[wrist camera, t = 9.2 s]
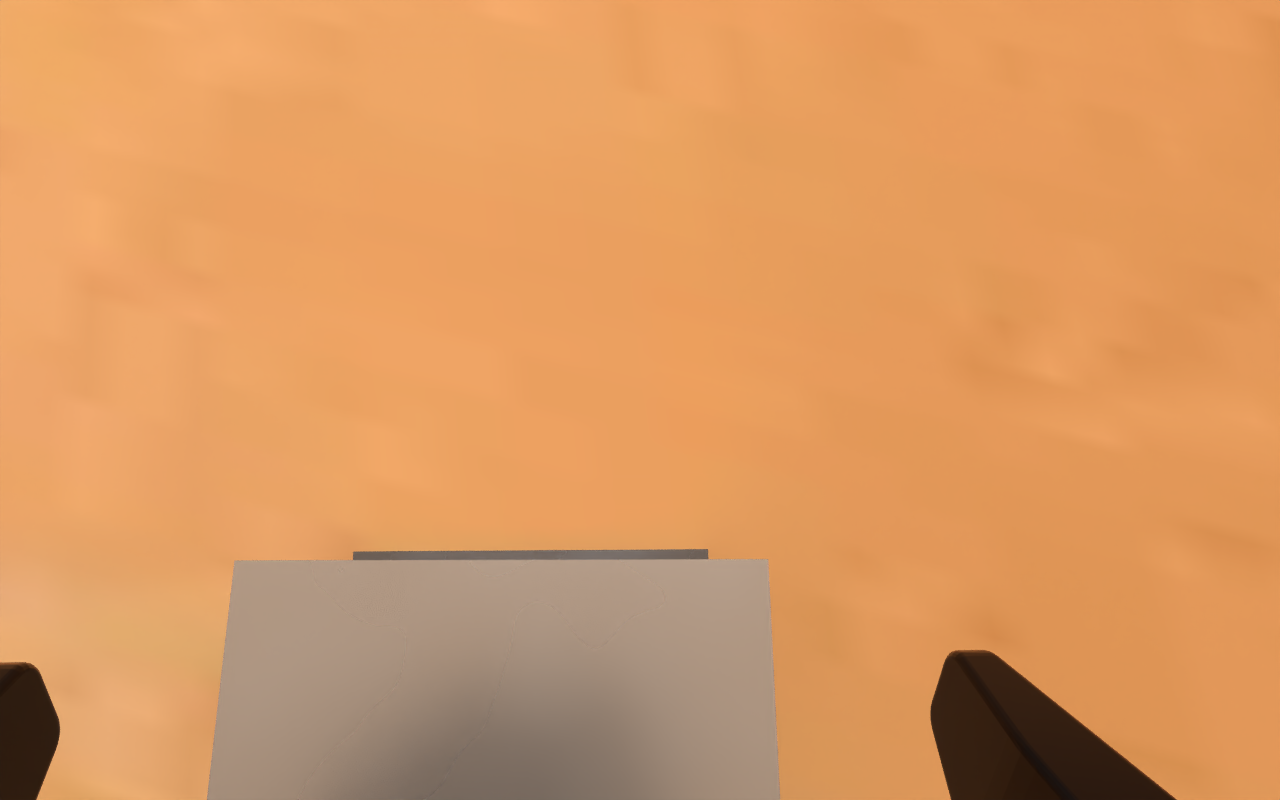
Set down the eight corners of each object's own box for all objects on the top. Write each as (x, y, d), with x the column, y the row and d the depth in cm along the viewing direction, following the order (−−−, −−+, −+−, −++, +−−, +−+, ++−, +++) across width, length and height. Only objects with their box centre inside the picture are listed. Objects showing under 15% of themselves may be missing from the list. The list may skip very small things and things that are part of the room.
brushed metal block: (668, 880, 16) (799, 1181, 7) (388, 890, 15) (158, 1223, 7) (663, 599, 17) (768, 559, 8) (406, 601, 16) (235, 560, 8)
